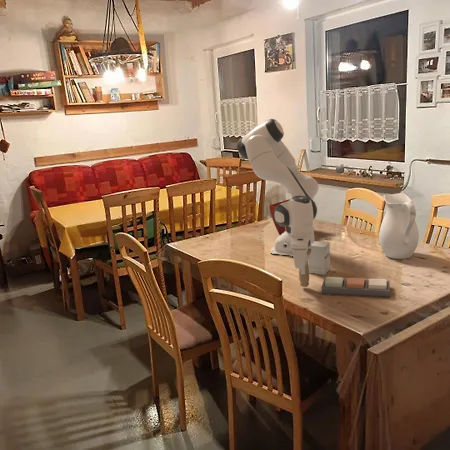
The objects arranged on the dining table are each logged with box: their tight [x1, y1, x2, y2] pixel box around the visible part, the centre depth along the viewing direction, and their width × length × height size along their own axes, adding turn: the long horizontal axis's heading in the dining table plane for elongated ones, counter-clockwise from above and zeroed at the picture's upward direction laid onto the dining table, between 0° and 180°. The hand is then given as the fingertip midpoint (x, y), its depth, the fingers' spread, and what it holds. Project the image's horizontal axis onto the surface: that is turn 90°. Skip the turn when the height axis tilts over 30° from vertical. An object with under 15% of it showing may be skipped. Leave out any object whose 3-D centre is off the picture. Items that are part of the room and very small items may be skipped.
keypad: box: [320, 277, 391, 299], centre depth 178 cm, size 25×10×3 cm, turn 72°
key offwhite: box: [368, 278, 387, 289], centre depth 175 cm, size 6×6×2 cm
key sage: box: [325, 276, 344, 287], centre depth 180 cm, size 6×6×2 cm
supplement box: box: [308, 240, 331, 276], centre depth 200 cm, size 7×7×13 cm
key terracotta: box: [346, 277, 365, 288], centre depth 177 cm, size 6×6×2 cm
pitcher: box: [378, 192, 420, 260], centre depth 206 cm, size 24×17×28 cm
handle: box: [298, 248, 311, 288], centre depth 182 cm, size 5×6×15 cm
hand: (304, 271), depth 182 cm, fingers closed on handle, 4 cm apart
